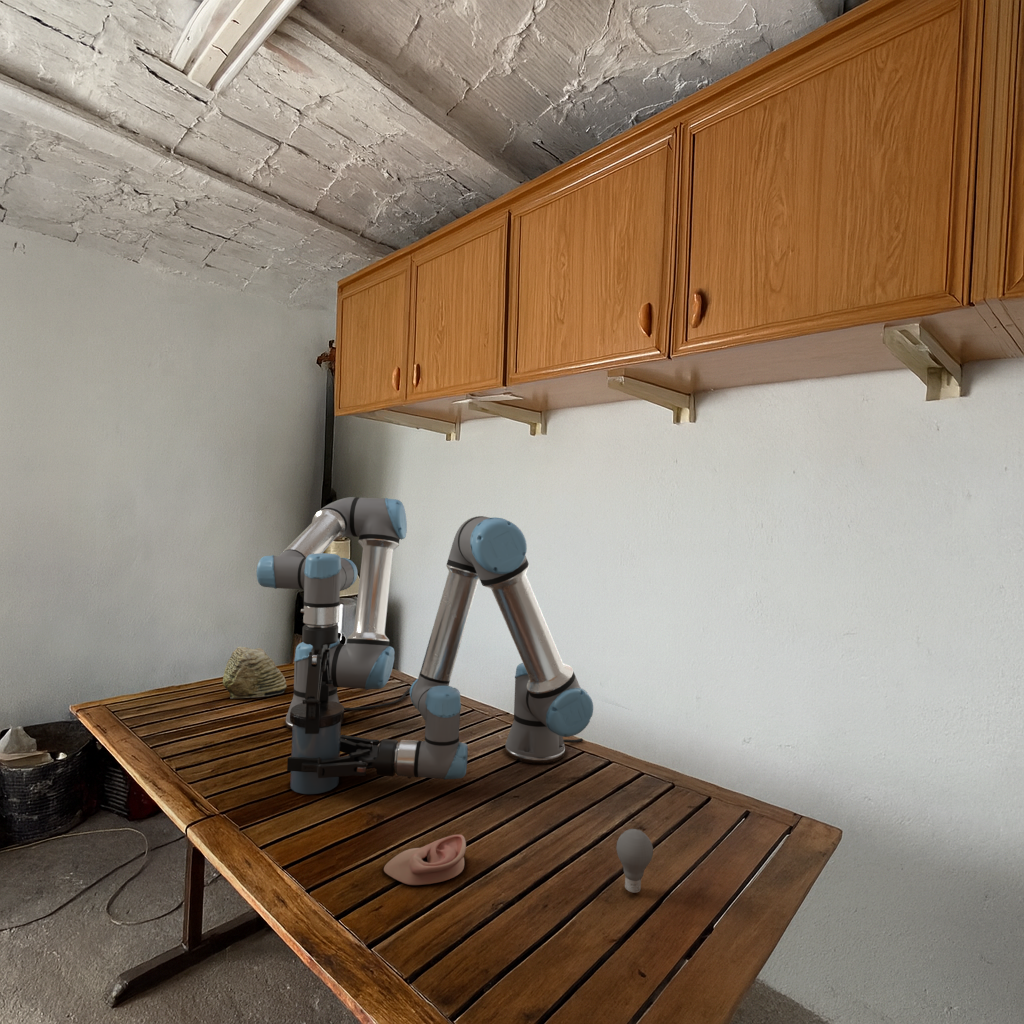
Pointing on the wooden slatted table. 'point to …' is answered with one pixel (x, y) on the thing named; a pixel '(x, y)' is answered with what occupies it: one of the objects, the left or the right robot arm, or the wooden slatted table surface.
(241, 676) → the fossil
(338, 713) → the lid
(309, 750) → the jar
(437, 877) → the anatomical model
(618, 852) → the light bulb
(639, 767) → the wooden slatted table surface
